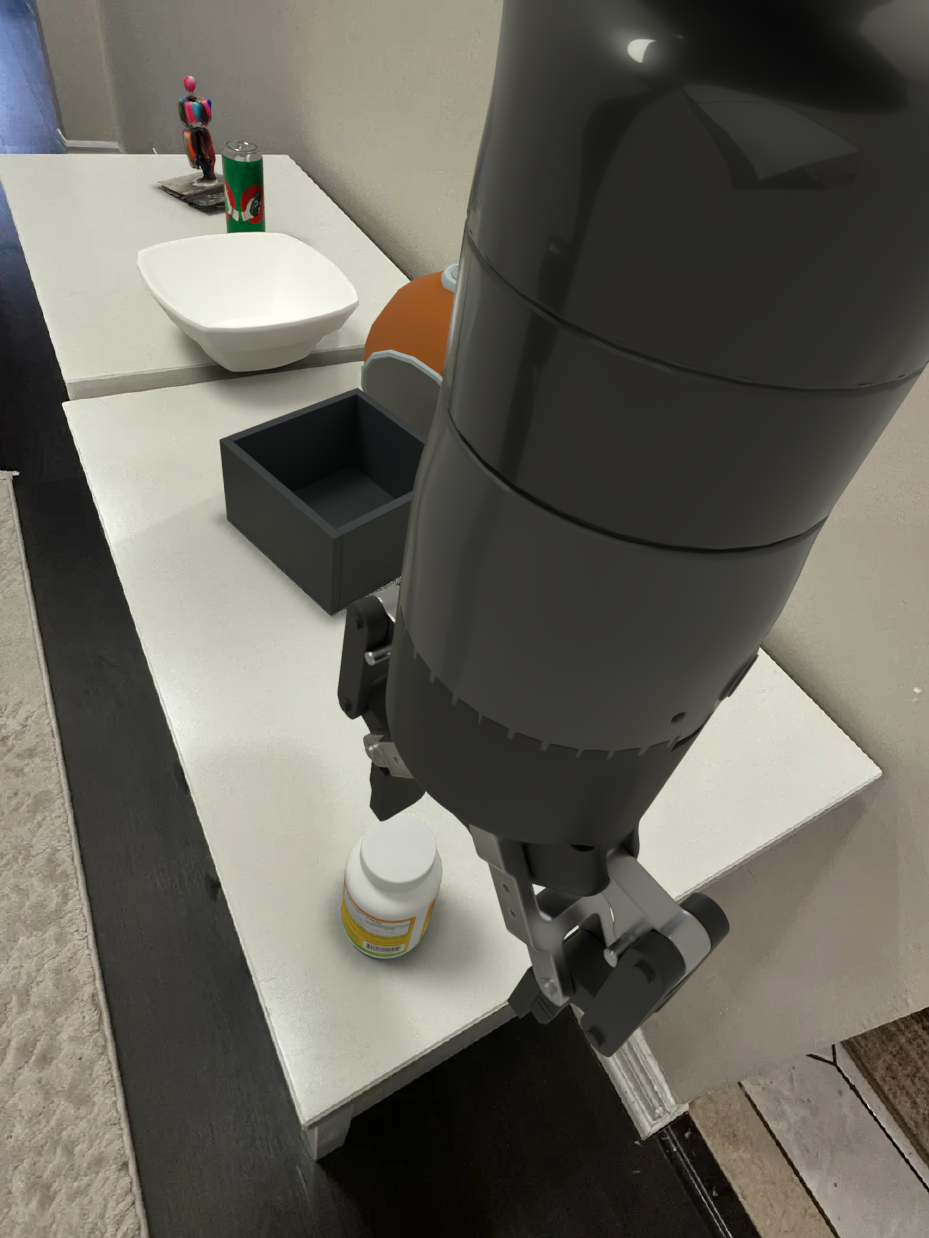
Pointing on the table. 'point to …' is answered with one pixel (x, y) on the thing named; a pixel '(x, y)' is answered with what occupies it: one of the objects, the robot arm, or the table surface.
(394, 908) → the supplement bottle
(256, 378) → the table surface
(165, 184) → the statue
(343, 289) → the bowl
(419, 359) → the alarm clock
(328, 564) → the bin
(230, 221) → the soda can
